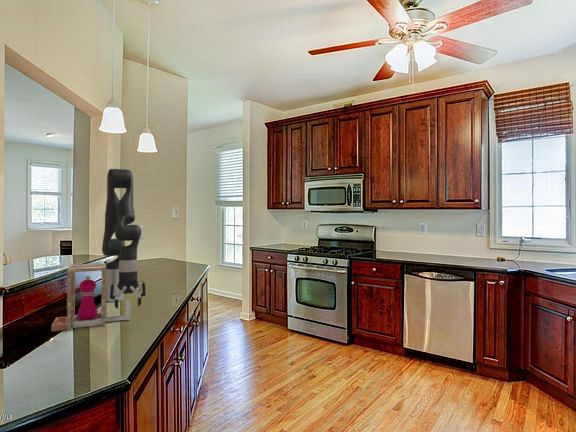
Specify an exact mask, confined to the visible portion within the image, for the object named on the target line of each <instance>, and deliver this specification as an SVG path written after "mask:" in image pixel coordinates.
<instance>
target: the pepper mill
mask: <svg viewBox="0 0 576 432" xmlns="http://www.w3.org/2000/svg"><path fill="white" fill-rule="evenodd" d="M96 288H97V284H96V281H94V280H93V279H91V276H89V275H87V276H85V280H82V281H81V282H80V284H79V290H80V296H81V303H80V306H79V308H78V312H77V315H78V317H79V318H80V320H79V321H82V320H91V319H96V318H95V316H96V315H97V313H98V307H97V306H96V304H95V301H94V295H95V289H96Z"/></svg>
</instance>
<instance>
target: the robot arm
mask: <svg viewBox="0 0 576 432" xmlns="http://www.w3.org/2000/svg"><path fill="white" fill-rule="evenodd" d="M115 189H125V193H124V194H123V196H121V198H119V197H118V196H117V193H116V191H115ZM135 220H136V217H135V208H134V176H133V172H132V170H130V169H125V168H124V169H123V168H122V169H120V168H110V169H109V170H108V171H107V176H106V204H105V214H104V232H103V239H102V245H101V246H102V247H101V252H102V254H103V256H105V257H115V256H117V257H116V258H115V259H113V260H112V261H111V260H110V261H108V262H106V303H114V308H115V309H119V302H121V301H124V299H125V295H126V294H135V295H136V297H137V307H140V306H141V305H142V298H143V297H145V296H146V295H147V294H146V283H145V281H143V282H142V281H141V282H138V247H139V243H140V239H141V236H142V228H141V227H140V225H138V224H133V223H134V222H135ZM113 236H115V238H112V237H113ZM125 241H126V242H127V241H128V242H130V241H131V243H130V244H129V245H126V242H125ZM139 287H140V288H141V291H142V292H141V293H140V292H139V290H138V289H137V288H139Z"/></svg>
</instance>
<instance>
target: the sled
mask: <svg viewBox="0 0 576 432" xmlns="http://www.w3.org/2000/svg"><path fill="white" fill-rule="evenodd" d="M95 318H96V319H91V320H82V321H79V320H80V318H79V317H78V314H75V315H73V317H72V320H71V329H76V328H77V329H78V328H85V327H94V326H101V312H97V315H96V316H95ZM130 320H131V299H130V298H127V299H125V315H115V316H106V317H105V323H107V322H108V323H109V322H115V321H116V322H117V321H130Z"/></svg>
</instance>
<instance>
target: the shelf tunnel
mask: <svg viewBox="0 0 576 432" xmlns="http://www.w3.org/2000/svg"><path fill="white" fill-rule="evenodd" d="M106 263H107V262H106ZM106 263H105V262H103V263H102V262H101V263H85V264H84V263H83V264H81V263H80V264H71V265H70V266H69V267H68V268H67V280H66V281H67V284H66V287H67V288H66V289H67V290H66V291H67V292H66V294H67V295H66V297H67V299H66V300H67V301H66V306H67V307H66V317H67V329H66V331H67V332H68V331H71V330H72V328H71V320H72V317H73V315H76V314H75V313H76V312H75V311H76V310H75V309H76V308H75V307H76V301H75V300H76V298H75V297H76V277H75V276H76V273H81V272H84V273H85V272H99V271H100V272H101V307H100V308H101V309H100V310H101V311H100V313H101V325H100V326H101V328H104V327H105V325H106V324H105V323H106V322H105V317H107V315H106V314H107V307H106V306H107V305H106V304H107V302H106Z"/></svg>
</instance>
